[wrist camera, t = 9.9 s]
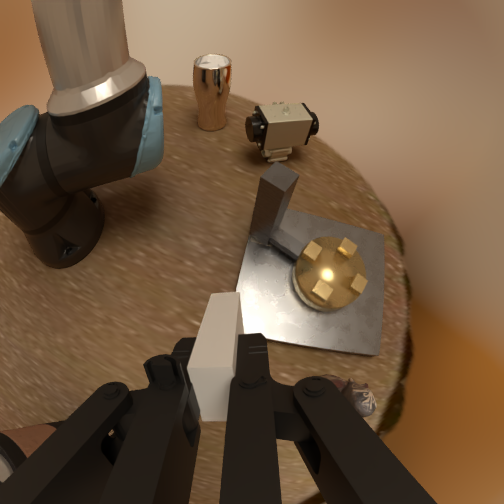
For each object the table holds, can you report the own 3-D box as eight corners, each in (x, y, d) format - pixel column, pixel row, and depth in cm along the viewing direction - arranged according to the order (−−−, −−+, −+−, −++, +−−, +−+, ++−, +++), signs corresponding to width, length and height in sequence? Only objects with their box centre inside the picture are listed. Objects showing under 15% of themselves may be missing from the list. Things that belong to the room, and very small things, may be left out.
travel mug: (105, 469, 26) (33, 519, 7) (63, 453, 25) (-20, 482, 7) (104, 424, 29) (18, 454, 11) (61, 410, 28) (-31, 419, 10)
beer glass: (203, 110, 54) (202, 51, 40) (233, 116, 54) (238, 56, 40) (189, 128, 51) (185, 66, 38) (221, 135, 51) (224, 71, 37)
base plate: (226, 331, 37) (226, 329, 35) (255, 208, 45) (257, 200, 43) (372, 356, 37) (379, 355, 35) (378, 239, 45) (384, 234, 43)
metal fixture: (234, 252, 39) (240, 197, 27) (273, 206, 43) (292, 145, 30) (337, 325, 36) (388, 301, 24) (366, 270, 40) (416, 230, 28)
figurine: (356, 401, 34) (403, 407, 23) (318, 432, 32) (355, 452, 21) (330, 365, 36) (372, 361, 25) (290, 395, 34) (320, 406, 23)
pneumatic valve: (307, 161, 50) (325, 114, 40) (249, 170, 48) (256, 118, 37) (296, 141, 52) (310, 95, 42) (240, 149, 50) (245, 98, 39)
